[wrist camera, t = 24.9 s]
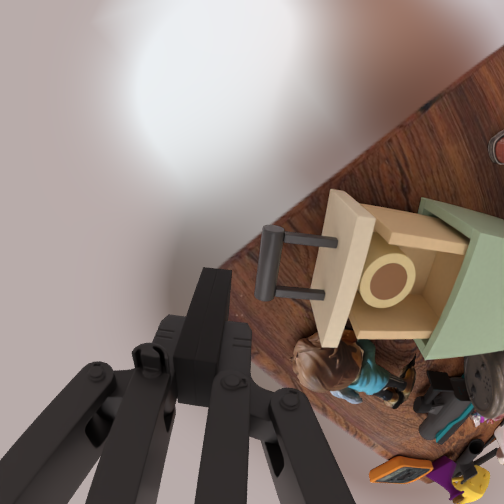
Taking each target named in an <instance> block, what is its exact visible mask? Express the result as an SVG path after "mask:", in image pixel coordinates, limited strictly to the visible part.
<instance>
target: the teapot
mask: <svg viewBox="0 0 504 504" xmlns="http://www.w3.org/2000/svg"><path fill="white" fill-rule="evenodd" d="M474 467H476V470H477V472H478V474H477V475H475V476H474V477H472V478H471V479H469V480H467V481H466V482H465V483H463V484H460V483H461V481H462V480H463V479H464V478H463V476H461V477H456V478H452V484H453V486H454V487H455V488H456V489H457V490H459V491H464V493H463V494H462V495H463V497H464V500H463V501H461V502H460V504H465V503H469V502H473V501H475V500H477V499H479V498H481V497H482V496H483V494H484V493H485V491H486V489H487V487H488V484H489V479H490V473H489V471H487V470H486V469H484V468H482V467H480V466H477V465H475V466H474ZM455 481H458V483H455ZM457 504H459V503H457Z"/></svg>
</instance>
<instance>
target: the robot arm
mask: <svg viewBox="0 0 504 504" xmlns="http://www.w3.org/2000/svg"><path fill="white" fill-rule="evenodd" d="M231 278H232V270H224V269H214V268H205V267H204V268H203V270H202V273H201V275H200V278H199V281H198V284H197V287H196V290H195V292H194V295H193V298H192V301H191V304H190V307H189V310H188V313H187V316H186V317H184V316H176V315H168V316H167V317H165V318H164V319H163V320H162V321H161V323H160V325H159V328H158V330H157V332H156V335H155V337H154V339H153V342H152V343H144V344H140V345H139V346H137V347H135V348H134V350H133V351H132V356H133V361H134V365H135V368H134V369H131V370H121V371H120V370H119V371H113V369H112V367H111V366H110V365H108V364H107V363H104V362H92V363H89V364H87V365H86V366H85V367H84V368H82V370H81V371H80V372H79V373H78V374H77V375H76V376H75V377H74V378H73V379H72V380H71V381H70V382H69V383H68V385H67V386H66V387H65V388H64V389H63V390H62V391H61V392H60V393H59V394H58V395H57V396H56V398H54V400H53V401H52V402H51V403H50V404H49V405H48V406H47V407H46V408H45V410H44V411H43V412H42V413H41V414H40V415H39V416H38V417H37V418H36V420H35V421H34V422H33V423H32V424H31V426H29V427H28V429H27V430H26V431H25V432H24V433H23V434H22V435H21V437H20V438H19V439H18V440H17V441H16V442H15V444H14V445H13V446H12V447H11V448H10V449H9V451H8V452H7V453H6V454H5V456H3V458H2V459H1V460H0V504H67V503H68V502H69V500H70V499H71V498H72V496H73V495H74V493H75V492H76V490H77V489H78V488H79V486H80V485H81V483H82V482H83V480H84V479H85V478H86V476H87V475H88V473H89V472H90V470H91V469H92V468H93V466H94V465H95V463H96V462H97V460H98V459H99V457H100V456H101V457H100V460H99V463H98V466H97V469H96V472H95V475H94V478H93V481H92V484H91V487H90V490H89V493H88V496H87V499H86V503H85V504H156V502H157V497H158V492H159V487H160V482H161V477H162V473H163V468H164V463H165V458H166V454H167V450H168V445H169V441H170V436H171V432H172V427H173V423H174V419H175V415H176V409H175V404H176V399H177V398H178V403H183V404H189V405H196V406H203V407H209V409H208V416H207V422H206V428H205V435H204V441H203V448H202V455H201V462H200V468H199V475H198V482H197V489H196V496H195V504H247V479H248V455H249V436H250V437H253V438H255V439H258V440H261V443H262V446H263V449H264V453H265V456H266V459H267V463H268V466H269V469H270V473H271V476H272V479H273V482H274V485H275V488H276V491H277V495H278V498H279V501H280V503H281V504H356V503H355V501H354V499H353V497H352V494H351V492H350V490H349V488H348V486H347V484H346V481H345V479H344V477H343V475H342V473H341V471H340V468H339V466H338V464H337V462H336V460H335V457H334V456H333V453H332V451H331V449H330V446H329V444H328V442H327V440H326V438H325V435H324V433H323V432H322V429H321V427H320V424H319V422H318V420H317V418H316V416H315V413H314V412H313V409H312V407H311V405H310V402H309V400H308V398H307V397H306V396H305V394H304V393H302V392H301V391H299V390H297V389H293V388H282V389H279V390H277V391H276V392H272V391H269V390H265V389H263V388H261V387H259V386H258V385H257V384H256V383H255V382H254V381H253V380H252V378H251V373H250V368H251V340H252V330H251V329H250V327H249V325H248V323H241V322H231V321H228V315H229V303H230V290H231ZM503 425H504V420H503V421H502V423H501V425H500V427H502V426H503ZM494 438H495V435H493V436H492V437H491V438H490V440H489V441H488V442H487V443H486V444H485V445H484V448H485V447H486V446H487V445H488V444H489V443H490V442H491V441H492V440H493V439H494Z"/></svg>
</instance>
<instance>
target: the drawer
mask: <svg viewBox="0 0 504 504" xmlns="http://www.w3.org/2000/svg"><path fill="white" fill-rule="evenodd" d="M373 232H378V233H379V234H380V235H381V236H382V237H383V238H384V239H385V240H386V241H387V242H388V243H389V244H393V245H397V246H398V247H399V248H400V249H401V250H402V251H403V252H404V253H405V254H406V255H407V256H408V257H409V258H410V259H411V261H412V262H413V264H414V266H415V271H416V277H415V282H414V285H413V287H412V289H411V291H410V292H409V294H408V295H407V296H406V297H405V298H404V299H403V300H402V301H400V302H399V303H397V304H395V305H393V306H390V307H387V308H376V307H373V306H370V305H369V304H367V303H366V302H365V301H364V300H363V298H362V296H361V294H360V292H359V291H358V289H357V288H358V284H359V281H360V278H361V274H362V271H363V267H364V264H365V260H366V257H367V253H368V249H369V245H370V242H371V238H372V234H373ZM470 240H471V239H470V238H468V237H467V236H465V235H464V234H463V233H461V232H460V231H458V230H457V229H455V228H454V227H452V226H451V225H449V224H448V223H446V222H445V221H443V220H442V219H440V218H435V217H430V216H425V215H421V214H416V213H411V212H406V211H400V210H395V209H390V208H384V207H379V206H373V205H367V204H361V203H360V204H359V203H358V202H357V201H356V200H354V199H353V198H352V197H351V196H350V195H348V194H347V193H346V192H345V191H341V190H335V189H330V193H329V199H328V205H327V210H326V215H325V221H324V226H323V231H322V236H321V235H313V234H304V233H296V232H287V231H285V230H284V228H282V227H280V226H277V225H265V226H263V229H262V237H261V245H260V253H259V261H258V269H257V276H256V284H255V292H254V295H255V297H256V298H257V299H258V300H261V301H271V300H272V299H273V298H274V296H275V297H284V298H296V299H308V300H310V301H311V305H312V309H313V313H314V318H315V322H316V326H317V330H318V334H319V338H320V342H321V347H330V348H337V347H338V344H339V342H340V339H341V336H342V333H343V330H344V328H345V325H346V322H347V319H348V317H349V319H350V322H351V325H352V327H353V330H354V332H355V335H356V337H357V339H427V338H430V337H431V335H432V333H433V331H434V329H435V327H436V325H437V323H438V321H439V319H440V316H441V314H442V312H443V310H444V308H445V306H446V303H447V301H448V299H449V296H450V294H451V292H452V289H453V287H454V284H455V282H456V279H457V277H458V274H459V271H460V269H461V266H462V263H463V260H464V258H465V255H466V252H467V249H468V246H469V243H470ZM283 241H284V243H291V244H300V245H309V246H318V247H319V251H318V256H317V260H316V265H315V270H314V274H313V279H312V283H311V287H310V289H309V288H298V287H287V286H276V284H277V278H278V272H279V265H280V259H281V253H282V246H283Z"/></svg>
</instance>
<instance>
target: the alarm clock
mask: <svg viewBox="0 0 504 504" xmlns="http://www.w3.org/2000/svg"><path fill="white" fill-rule="evenodd" d="M464 377H465V383H466V388H467V392H468V395H469V398H470V400H471V402H472V404H473V406H474V408H475V410H476V411H477V412H478V413H479V414H480V415H481V416H482V417H484V418H487V419H493V418H496V417H498V416H500V415H501V414H503V413H504V350H503V351H497V352H490V353H484V354H477V355H469V356H464Z"/></svg>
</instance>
